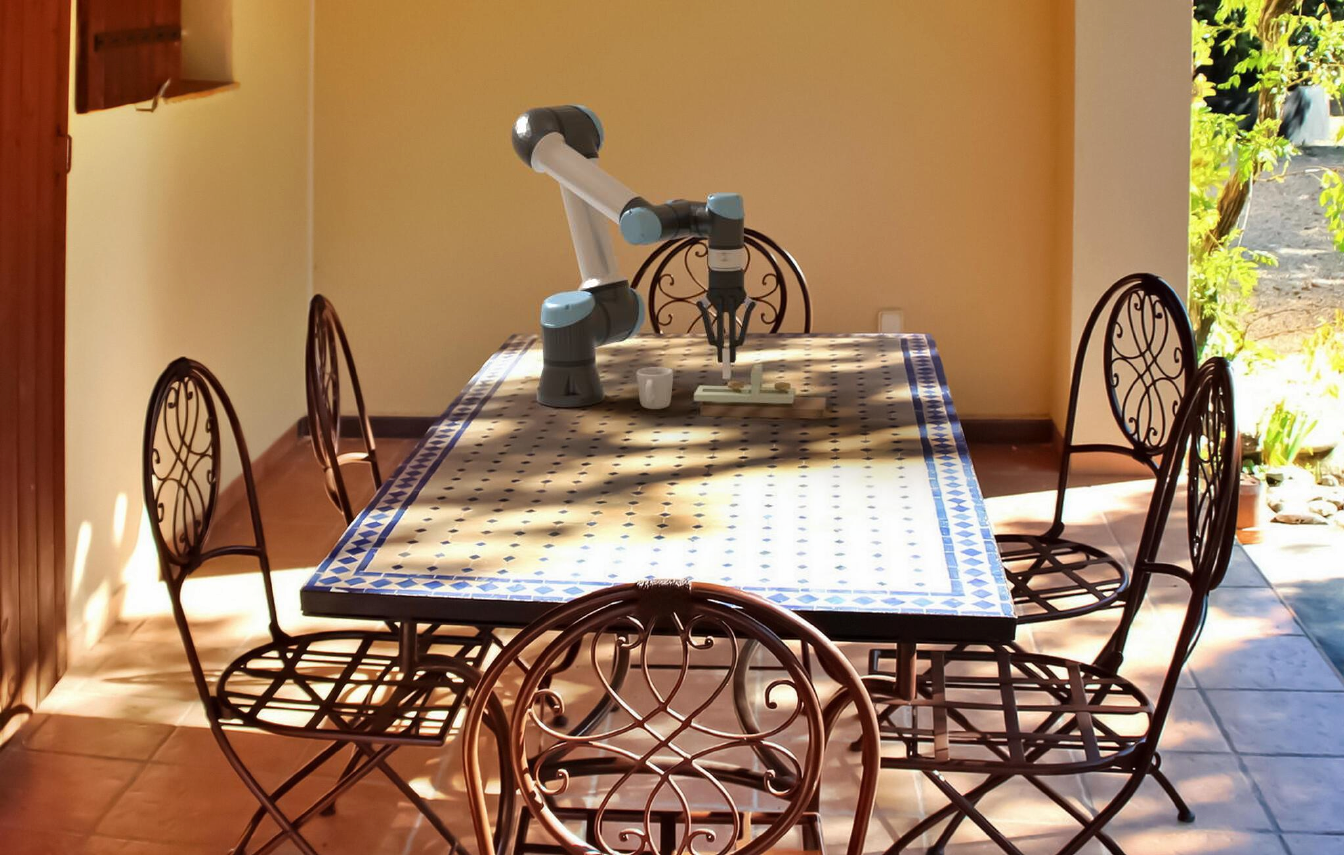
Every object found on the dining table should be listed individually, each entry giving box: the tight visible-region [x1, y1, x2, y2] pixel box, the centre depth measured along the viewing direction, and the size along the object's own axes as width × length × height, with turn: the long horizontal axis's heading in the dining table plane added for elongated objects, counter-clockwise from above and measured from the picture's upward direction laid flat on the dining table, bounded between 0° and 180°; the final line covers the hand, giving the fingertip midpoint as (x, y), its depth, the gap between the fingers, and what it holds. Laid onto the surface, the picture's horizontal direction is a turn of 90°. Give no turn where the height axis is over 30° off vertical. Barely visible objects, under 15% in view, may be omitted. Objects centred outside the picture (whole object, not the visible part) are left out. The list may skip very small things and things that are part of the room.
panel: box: [693, 363, 797, 403], centre depth 307 cm, size 21×8×7 cm, turn 81°
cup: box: [636, 366, 674, 410], centre depth 311 cm, size 11×8×8 cm
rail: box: [699, 380, 827, 420], centre depth 308 cm, size 26×10×6 cm, turn 81°
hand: (726, 377), depth 308 cm, fingers closed
